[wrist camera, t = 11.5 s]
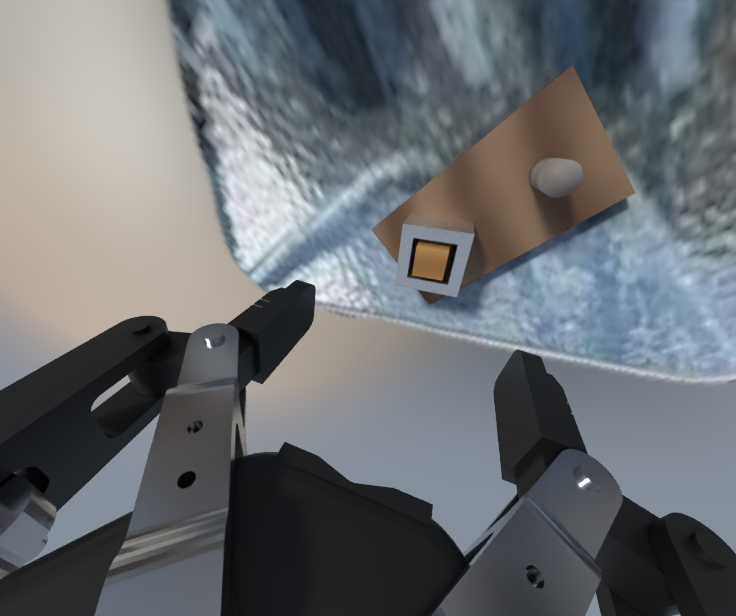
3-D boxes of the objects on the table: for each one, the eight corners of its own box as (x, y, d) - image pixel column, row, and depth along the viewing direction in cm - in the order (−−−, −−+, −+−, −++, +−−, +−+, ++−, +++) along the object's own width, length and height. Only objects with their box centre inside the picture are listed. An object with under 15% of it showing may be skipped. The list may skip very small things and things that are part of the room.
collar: (410, 213, 25) (402, 223, 22) (473, 221, 24) (474, 234, 21) (402, 268, 28) (394, 285, 25) (457, 278, 27) (457, 297, 24)
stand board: (565, 69, 19) (601, 43, 14) (625, 190, 21) (673, 203, 16) (375, 226, 29) (357, 243, 24) (430, 298, 31) (424, 327, 26)
